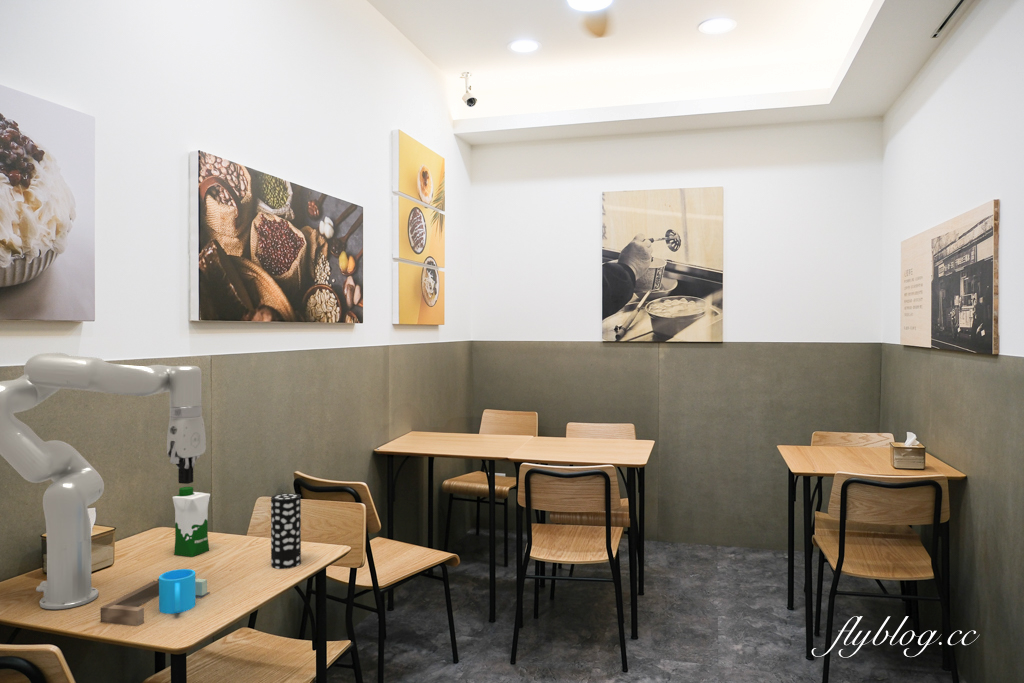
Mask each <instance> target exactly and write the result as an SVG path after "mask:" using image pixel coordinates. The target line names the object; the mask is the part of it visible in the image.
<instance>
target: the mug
mask: <svg viewBox="0 0 1024 683" xmlns="http://www.w3.org/2000/svg"><path fill="white" fill-rule="evenodd" d="M158 578H159V596H158V611H159V613H162V614H167V615H169V614H171V615H173V614H180V613H184V612H188V611H189V610H192V609H194V607H195V606H196V598H195V578H196V571H195V570H193V569H191V568H181V569H173V570H167V571H166V572H164V573H161V574H160V575H159V576H158Z"/></svg>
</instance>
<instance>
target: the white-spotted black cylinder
mask: <svg viewBox="0 0 1024 683" xmlns="http://www.w3.org/2000/svg"><path fill="white" fill-rule="evenodd" d="M301 497H302V495H301V494H299V493H294V492H293V493H290V492H289V493H280V494H276V495H272V496H271V497H270V521H271V522H270V539H271V540H270V550H271V551H270V555H271V556H270V557H271V558H270V562H271V564H270V566H271V567H272V569H273V568H274V569H277V570H278V569H279V570H284V569H285V570H286V569H292V568H295V567H297V566H300V564H301V561H302V559H301V558H302V557H301V556H302V552H301V551H302V548H301V547H302V545H301V544H302V543H301V542H302V541H301V540H302V536H301V535H302V527H301V526H302V519H301V517H302V515H301V514H302V511H301V509H302V507H301V506H302V502H301V501H302V500H301Z"/></svg>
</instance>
